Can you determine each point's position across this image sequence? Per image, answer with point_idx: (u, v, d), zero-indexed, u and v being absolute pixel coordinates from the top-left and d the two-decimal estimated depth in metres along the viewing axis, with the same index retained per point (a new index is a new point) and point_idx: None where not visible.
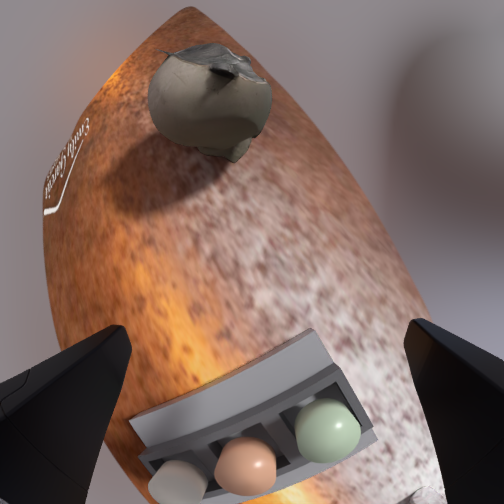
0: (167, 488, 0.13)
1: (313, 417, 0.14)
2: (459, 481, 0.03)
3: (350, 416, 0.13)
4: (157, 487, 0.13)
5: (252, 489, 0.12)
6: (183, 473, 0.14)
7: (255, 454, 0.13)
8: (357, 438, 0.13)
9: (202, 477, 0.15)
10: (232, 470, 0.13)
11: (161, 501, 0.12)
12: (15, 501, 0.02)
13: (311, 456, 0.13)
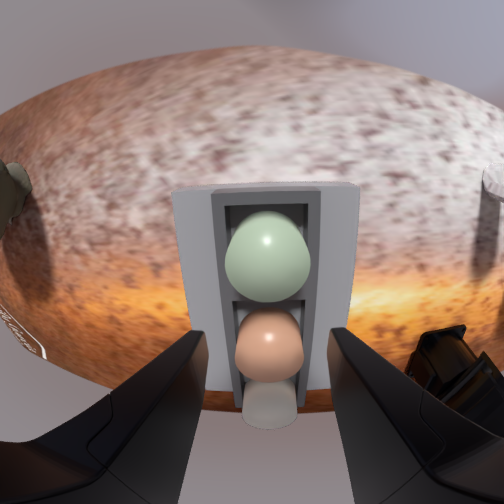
0: (259, 416, 0.17)
1: (225, 267, 0.13)
2: None
3: (249, 229, 0.12)
4: (255, 421, 0.17)
5: (292, 362, 0.15)
6: (251, 394, 0.17)
7: (245, 338, 0.15)
8: (291, 235, 0.12)
9: None
10: (254, 365, 0.15)
11: (274, 426, 0.17)
12: None
13: (279, 294, 0.13)
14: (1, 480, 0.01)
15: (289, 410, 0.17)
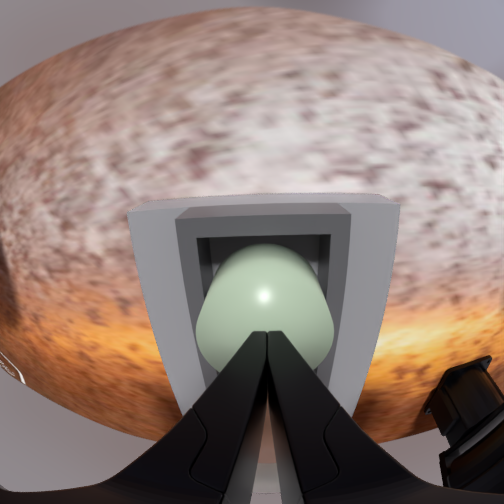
0: (254, 485, 0.11)
1: (198, 339, 0.08)
2: None
3: (233, 287, 0.07)
4: None
5: None
6: None
7: None
8: (306, 296, 0.07)
9: None
10: None
11: (273, 491, 0.12)
12: None
13: None
14: None
15: None
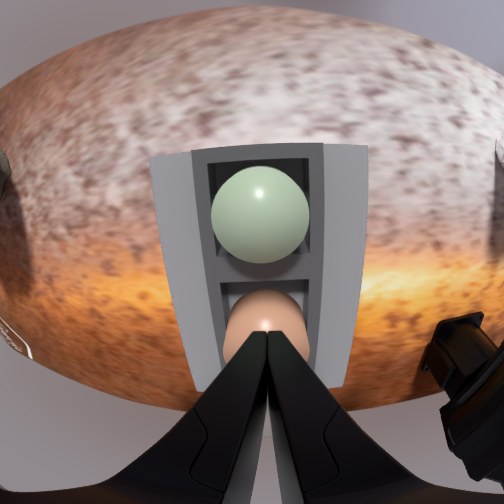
0: None
1: (212, 222, 0.11)
2: None
3: (238, 175, 0.10)
4: None
5: None
6: None
7: (235, 326, 0.12)
8: (286, 180, 0.10)
9: None
10: None
11: None
12: None
13: (275, 253, 0.11)
14: None
15: None
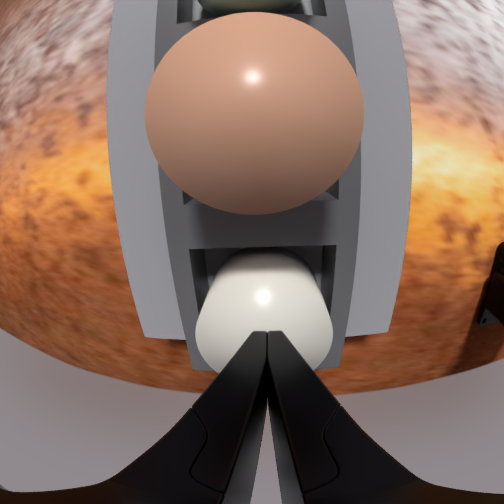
0: (238, 342, 0.08)
1: None
2: None
3: None
4: None
5: (331, 115, 0.04)
6: (219, 281, 0.08)
7: None
8: None
9: (264, 252, 0.09)
10: (203, 129, 0.04)
11: None
12: None
13: None
14: None
15: (313, 320, 0.07)
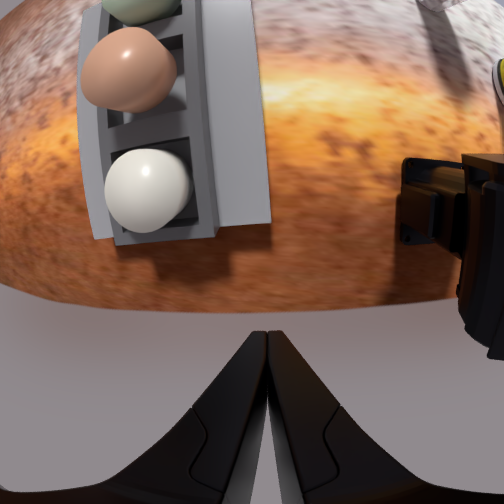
0: (125, 193, 0.12)
1: (103, 1, 0.08)
2: None
3: None
4: (123, 210, 0.12)
5: (144, 60, 0.08)
6: None
7: None
8: None
9: None
10: (99, 79, 0.08)
11: (152, 221, 0.12)
12: None
13: (141, 0, 0.08)
14: None
15: (164, 171, 0.11)
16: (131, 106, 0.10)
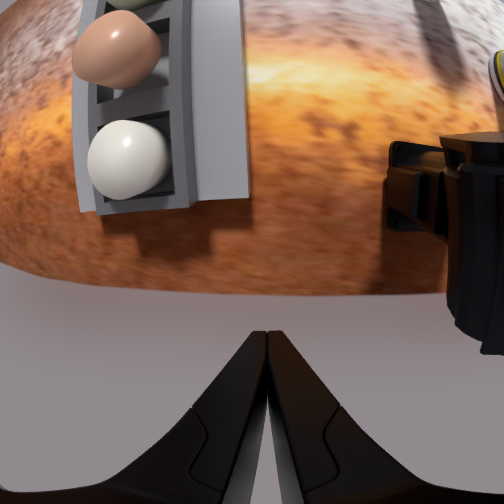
0: (106, 162, 0.12)
1: None
2: None
3: None
4: (103, 177, 0.12)
5: (128, 38, 0.08)
6: None
7: None
8: None
9: None
10: (88, 56, 0.08)
11: (127, 188, 0.12)
12: None
13: None
14: None
15: (141, 140, 0.11)
16: (115, 81, 0.10)
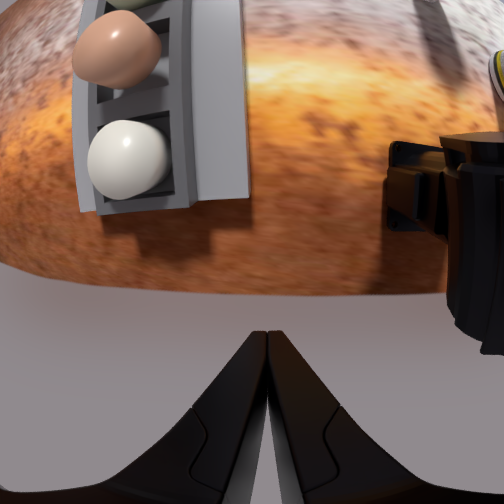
0: (106, 162, 0.12)
1: None
2: None
3: None
4: (103, 177, 0.12)
5: (128, 38, 0.08)
6: None
7: None
8: None
9: None
10: (88, 56, 0.08)
11: (127, 188, 0.12)
12: None
13: None
14: None
15: (141, 140, 0.11)
16: (115, 81, 0.10)
